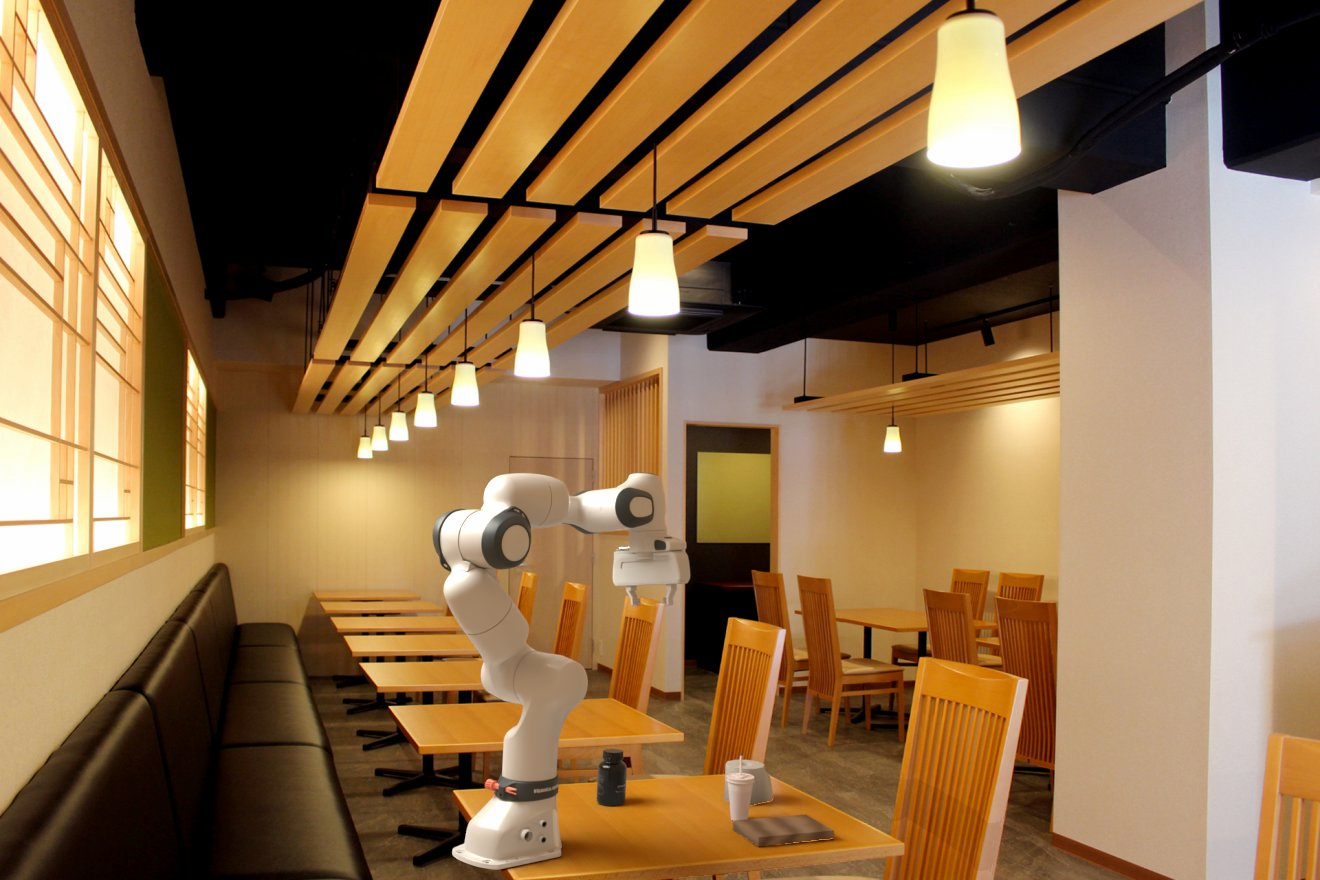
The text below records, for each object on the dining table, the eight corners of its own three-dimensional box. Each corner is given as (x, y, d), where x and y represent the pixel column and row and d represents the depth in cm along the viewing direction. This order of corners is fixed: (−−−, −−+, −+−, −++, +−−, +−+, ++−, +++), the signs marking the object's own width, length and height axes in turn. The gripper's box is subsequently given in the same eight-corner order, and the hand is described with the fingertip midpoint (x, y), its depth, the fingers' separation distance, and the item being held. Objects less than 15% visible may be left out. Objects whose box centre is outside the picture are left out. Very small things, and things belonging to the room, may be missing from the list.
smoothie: (753, 816, 239) (755, 754, 240) (753, 825, 233) (755, 760, 234) (725, 815, 240) (727, 752, 241) (724, 823, 234) (726, 759, 234)
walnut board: (758, 847, 218) (758, 837, 218) (732, 830, 229) (733, 820, 229) (833, 839, 224) (834, 830, 224) (805, 823, 235) (805, 814, 235)
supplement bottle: (624, 807, 243) (626, 754, 244) (595, 806, 243) (597, 753, 244) (626, 799, 250) (628, 747, 251) (597, 798, 250) (599, 746, 251)
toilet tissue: (781, 799, 255) (782, 763, 256) (744, 808, 246) (745, 770, 247) (754, 791, 262) (755, 755, 262) (716, 799, 253) (717, 763, 253)
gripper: (605, 547, 243) (608, 607, 242) (675, 542, 231) (678, 605, 229) (622, 546, 248) (626, 605, 247) (692, 541, 236) (696, 603, 234)
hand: (652, 605), depth 238 cm, fingers open, 8 cm apart
